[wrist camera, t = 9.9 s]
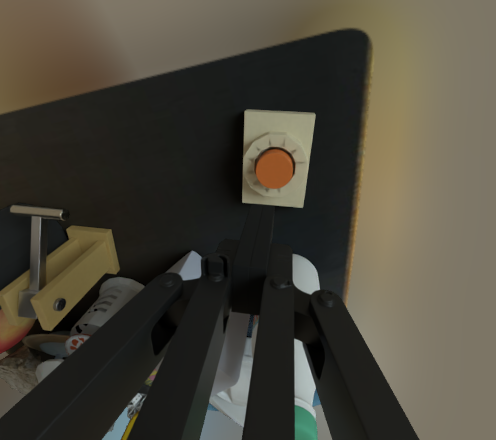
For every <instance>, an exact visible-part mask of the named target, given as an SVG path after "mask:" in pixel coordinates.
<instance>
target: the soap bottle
mask: <svg viewBox="0 0 496 440" xmlns="http://www.w3.org/2000/svg"><path fill="white" fill-rule="evenodd" d="M201 258H202V257H201V256H200V255H198V254H197V253H196V252H194V251H190V252H189V253H188V254H186V255H185V256H184V257H183V258H182V259H181V260H179V261H178V262H177V263H176V264H175V265H173V266H172V267H171V268H170V269H169V270H168V271H166V272H165V273H168V272H173V273H177V274H179V275H181V277H182V278H183V280H191V279H196V278H199V277H200V276H201ZM249 319H250V314H243V313H236V312H231V309H230V317H229V325H228V329H227V332H226V336H225V340H224V344H223V348H222V352H221V356H220V360H219V364H218V368H217V372H216V376H215V380H214V384H213V388H212V392H211V396H210V397H212V396H214V395H216V394H218V393H220V392H222V391H224V390H226V389H228V388H230V387H232V386H234V385H236V383H237V382H238V380H239V377H240V371H241V365H242V359H243V354H244V348H245V342H246V336H247V330H248V325H249ZM163 358H164V357H163ZM162 360H163V359H162ZM162 360H161V361H160V363H159V364H158V365H157V367H156V368H155V369H156V370H158V369H159V367H160V365H161V362H162ZM138 413H139V411H138V412H137V413H135V414H134V416H133V417H132V418H131V420H130V422H129V423H128V425H127V427H126V430H125V432H124V434H123V436H122V438H121V440H127V437H128V435H129V433H130V431H131V429H132V426H133V424H134V422H135V420H136V418H137V415H138Z"/></svg>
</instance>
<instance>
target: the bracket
mask: <svg viewBox="0 0 496 440" xmlns="http://www.w3.org/2000/svg"><path fill="white" fill-rule="evenodd" d="M66 231H67V234H68V237H69V240H68V241H67V242H65V243H64V244H63V245H61V246H60V247H59V248H57V249H56V250H55V251H53V252H52V253H51V254H49V255H48V256H47V257H46V283H45V287H44V288H43V289H42V290H41V291H39V292H38V293H37V294H36V295H35V296H34V297H32V298H31V299H30V301H31V303H32V306H33V308H34V310H35V313H36V315H37V317H38V320H39V322H40V324H41V327H42V329H43V330H48V331H51V330H52V329H53V328H54V327H55V326H56V325H57V324H58V323H59V322H60V321H61V320H62V319H63V318H64V317H65V316H66V314H67V313H68V312H69V311H70V310H71V309H72V308H73V307H74V306H75V305H76V304H77V303H78V302H79V301H80V300H81V298H82V297H83V296H84V295H85V294H86V293H87V292H88V291H89V290H90V289H91V288H92V287H93V286H94V285H95V283H96V282H97V281H98V280H99V279H100V278H101V277H102V276H103V275H104V274H105V273H109V274H117V272H118V271H119V270H120V267H119V263H118V258H117V254H116V249H115V244H114V240H113V235H112V231H111V229H102V228H92V227H83V226H73V225H72V226H70V227H69V228H67V229H66ZM29 283H30V269H29V270H28V271H26V272H25V273H24V274H22V275H21V276H20V277H18V278H17V279H16V280H14V281H13V282H12V283H10V284H9V285H8V286H6V287H5V288H4V289H2V290H1V291H0V306H1V308H2V310H3V312H4V314H5V316H6V318H7V320H8V322H9V324H10V325H14V326H18V325H19V324H20V323H22V322H23V321H24V320H25V319H26V318H25V317H18V302H19V291H22V290H25V289H28V288H29Z"/></svg>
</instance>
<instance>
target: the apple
mask: <svg viewBox="0 0 496 440" xmlns="http://www.w3.org/2000/svg"><path fill="white" fill-rule="evenodd" d="M35 320H36V319H32V318H26V319H25V320H24V321H23V322H22V323H20V324H19V325H18V326H14V325H10V324H9V322H8V320H7V318H6V316H5V314H4V312H3V310H2V309H1V310H0V354H1V353H3V352H5V351H7V350H8V349H10V348H11V347H13V346H14V345H16V344H17V343H18V342H19V341H21V340H22V339H23V338H24V337H25V335H26V334H27V333H28V332H29V330H30V329H31V328H32V326H33V324H34V323H35Z"/></svg>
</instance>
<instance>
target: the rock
mask: <svg viewBox="0 0 496 440" xmlns="http://www.w3.org/2000/svg"><path fill="white" fill-rule="evenodd" d="M40 364H42V362H41V357H40V355H39V354H38V352H37V351H36V350H35V349H33V348H30V347H28V346H27V345H24V346H23V347H21V348H20V349H18V350H16V351H15V352H14V353H13V354H10V355H8V356H6V357H5V358H4V359H2V360H0V378H1V379H4V380H5V381H6V382H7V383H8V384H9V385H10V386H11V388H12V389H17V390H18V391H19V392H20V393H22V394H24V395H27V394H28V393H29V392H30V391H31V390H32V389H33V388H34V387H35V386H36V385H38V384H39V382H38V379H37V376H36V369H37V366H38V365H40Z"/></svg>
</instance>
